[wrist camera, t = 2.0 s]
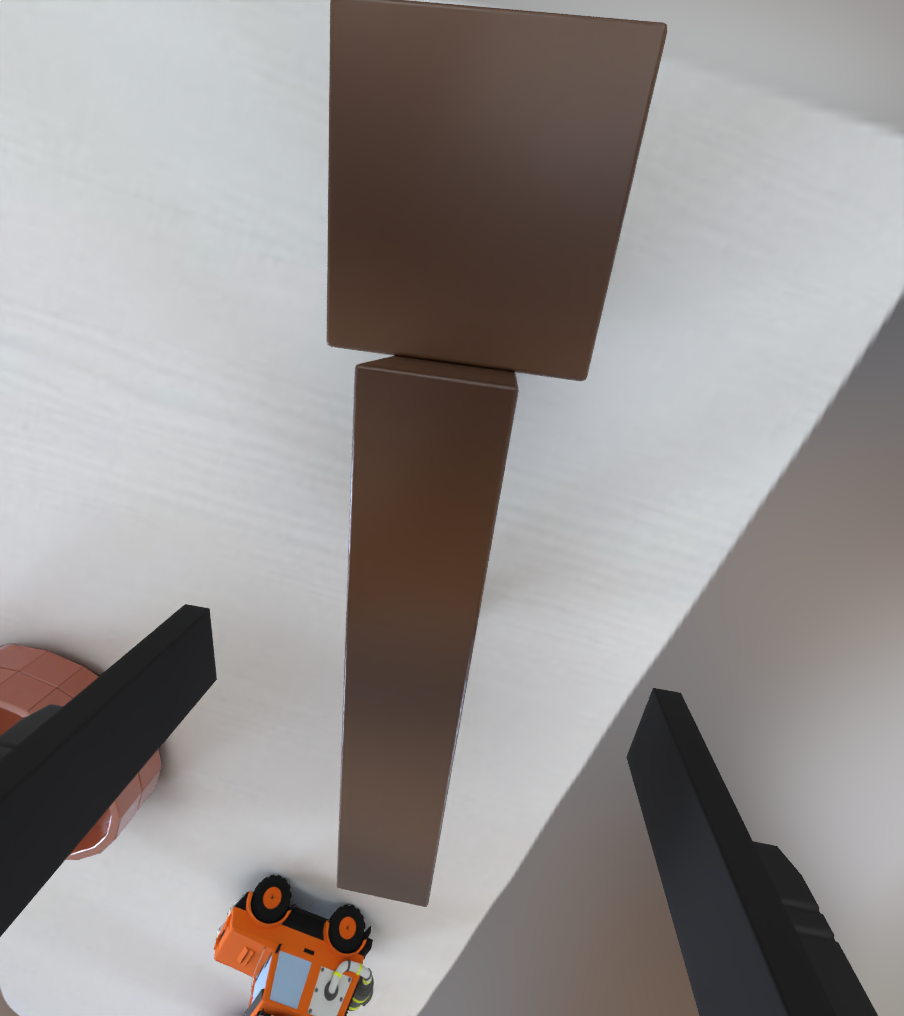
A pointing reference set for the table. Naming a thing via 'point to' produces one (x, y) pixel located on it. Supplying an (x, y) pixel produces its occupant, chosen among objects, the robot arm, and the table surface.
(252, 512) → the table surface
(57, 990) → the table surface
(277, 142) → the table surface
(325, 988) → the toy car
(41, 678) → the bowl
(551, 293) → the brown wooden mallet
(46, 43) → the table surface
